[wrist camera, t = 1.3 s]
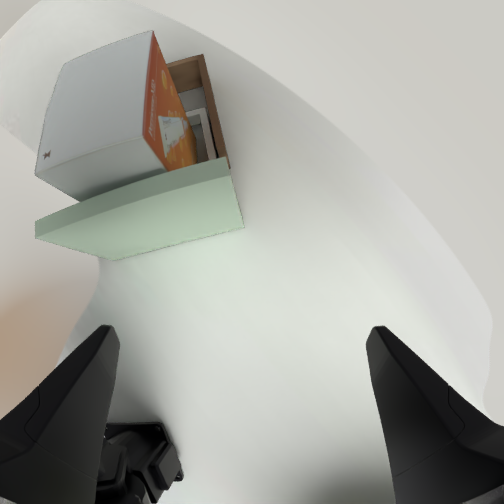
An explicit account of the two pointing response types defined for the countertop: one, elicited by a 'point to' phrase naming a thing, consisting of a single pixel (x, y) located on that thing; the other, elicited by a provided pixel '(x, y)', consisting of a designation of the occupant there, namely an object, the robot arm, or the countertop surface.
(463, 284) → the countertop surface
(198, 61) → the brown cardboard tray
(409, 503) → the robot arm
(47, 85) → the countertop surface
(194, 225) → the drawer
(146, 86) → the small box
